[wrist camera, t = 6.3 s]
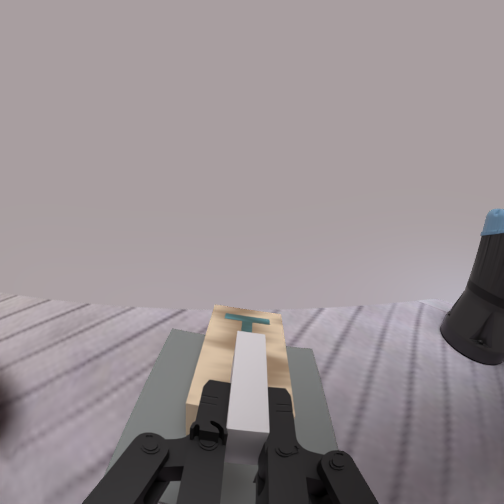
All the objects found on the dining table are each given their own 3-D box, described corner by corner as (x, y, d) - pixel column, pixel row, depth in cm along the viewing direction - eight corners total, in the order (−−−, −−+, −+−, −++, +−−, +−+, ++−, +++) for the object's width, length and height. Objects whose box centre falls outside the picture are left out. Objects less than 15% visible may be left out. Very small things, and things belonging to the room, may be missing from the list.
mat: (311, 351, 30) (311, 348, 30) (349, 511, 11) (351, 509, 11) (172, 331, 29) (172, 328, 29) (103, 484, 10) (101, 481, 10)
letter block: (281, 447, 16) (273, 344, 30) (295, 416, 15) (280, 313, 29) (185, 435, 16) (211, 335, 30) (185, 402, 15) (214, 304, 28)
